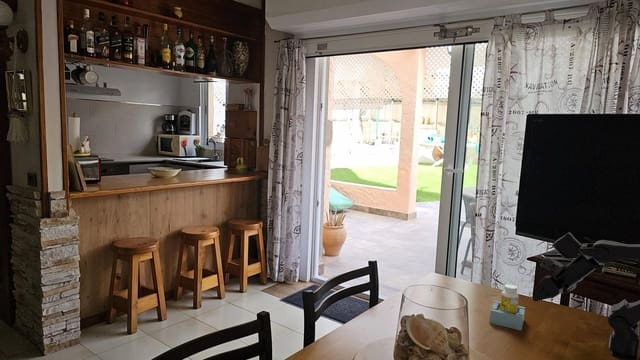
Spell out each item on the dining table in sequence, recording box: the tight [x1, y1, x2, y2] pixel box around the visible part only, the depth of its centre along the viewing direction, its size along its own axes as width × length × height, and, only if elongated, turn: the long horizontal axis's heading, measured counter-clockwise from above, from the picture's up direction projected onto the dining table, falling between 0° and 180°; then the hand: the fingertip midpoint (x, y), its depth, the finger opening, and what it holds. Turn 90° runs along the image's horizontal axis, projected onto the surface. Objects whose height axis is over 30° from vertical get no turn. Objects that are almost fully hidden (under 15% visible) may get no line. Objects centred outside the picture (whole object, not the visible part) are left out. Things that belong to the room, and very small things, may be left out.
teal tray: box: [489, 300, 526, 331], centre depth 149 cm, size 10×10×4 cm
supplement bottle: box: [500, 284, 520, 315], centre depth 148 cm, size 5×5×10 cm
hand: (538, 298), depth 143 cm, fingers open, 9 cm apart
